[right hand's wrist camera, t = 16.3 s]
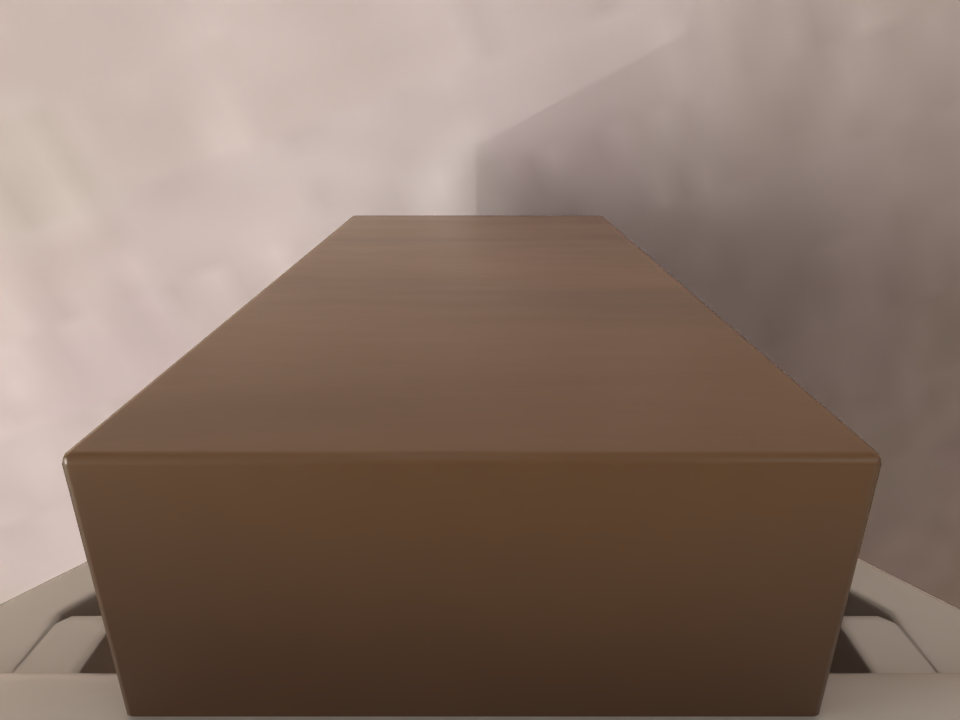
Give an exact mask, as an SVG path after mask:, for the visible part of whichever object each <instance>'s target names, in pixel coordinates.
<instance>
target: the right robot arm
mask: <svg viewBox="0 0 960 720" xmlns="http://www.w3.org/2000/svg"><path fill="white" fill-rule="evenodd" d="M0 720H960V609H958V608H956V607H954V606H952V605H950V604H948V603H946V602H944V601H942V600H940V599H938V598H936V597H935V596H933V595H931V594H929V593H927V592H925V591H923V590H921V589H919V588H917V587H915V586H913V585H911V584H909V583H907V582H905V581H903V580H901V579H899V578H897V577H895V576H893V575H891V574H889V573H887V572H885V571H883V570H881V569H879V568H877V567H875V566H873V565H871V564H869V563H867V562H865V561H863V560H861V559H859V558H858V560H857V564H856V568H855V572H854V576H853V580H852V584H851V588H850V592H849V596H848V600H847V604H846V608H845V612H844V616H843V620H842V624H841V628H840V632H839V636H838V640H837V644H836V648H835V652H834V656H833V660H832V664H831V668H830V672H829V676H828V680H827V684H826V688H825V692H824V696H823V700H822V704H821V708H820V712H819V715H817V716H814V717H132V716H130V715H127V712H126V708H125V704H124V700H123V696H122V693H121V689H120V685H119V681H118V677H117V673H116V669H115V666H114V662H113V658H112V654H111V650H110V646H109V643H108V639H107V635H106V631H105V627H104V623H103V619H102V616H101V612H100V608H99V604H98V600H97V596H96V592H95V589H94V585H93V581H92V577H91V573H90V569H89V565H88V562H85V563H83V564H81V565H79V566H77V567H75V568H73V569H71V570H69V571H67V572H65V573H63V574H61V575H59V576H57V577H55V578H53V579H51V580H49V581H47V582H45V583H43V584H41V585H39V586H37V587H35V588H33V589H31V590H29V591H27V592H25V593H23V594H21V595H19V596H17V597H15V598H13V599H11V600H9V601H7V602H5V603H3V604H1V605H0Z"/></svg>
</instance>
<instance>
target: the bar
mask: <svg viewBox="0 0 960 720" xmlns="http://www.w3.org/2000/svg"><path fill="white" fill-rule="evenodd" d="M62 465H63V469H64V473H65V477H66V481H67V485H68V488H69V492H70V496H71V500H72V504H73V508H74V512H75V515H76V519H77V523H78V527H79V531H80V535H81V539H82V542H83V546H84V550H85V554H86V558H87V562H88V565H89V569H90V573H91V577H92V581H93V585H94V589H95V592H96V596H97V600H98V604H99V608H100V612H101V616H102V619H103V623H104V627H105V631H106V635H107V639H108V643H109V646H110V650H111V654H112V658H113V662H114V666H115V669H116V673H117V677H118V681H119V685H120V689H121V693H122V696H123V700H124V704H125V708H126V712H127V715H130V716H132V717H814V716H817V715H819V712H820V708H821V704H822V700H823V696H824V692H825V688H826V684H827V680H828V676H829V672H830V668H831V664H832V660H833V656H834V652H835V648H836V644H837V640H838V636H839V632H840V628H841V624H842V620H843V616H844V612H845V608H846V604H847V600H848V596H849V592H850V588H851V584H852V580H853V576H854V572H855V568H856V564H857V560H858V555H859V551H860V547H861V543H862V539H863V535H864V531H865V527H866V523H867V519H868V515H869V511H870V507H871V503H872V499H873V495H874V491H875V487H876V483H877V479H878V475H879V471H880V467H881V459H880V456H879V454H878V453H877V452H876V451H875V450H874V449H873V448H871V447H870V446H869V445H868V444H867V443H866V442H864V441H863V440H862V439H861V438H860V437H859V436H857V435H856V434H855V433H854V432H853V431H852V430H850V429H849V428H848V427H847V426H846V425H845V424H843V423H842V422H841V421H840V420H839V419H838V418H836V417H835V416H834V415H833V414H832V413H831V412H829V411H828V410H827V409H826V408H825V407H824V406H822V405H821V404H820V403H819V402H818V401H817V400H816V399H814V398H813V397H812V396H811V395H810V394H809V393H807V392H806V391H805V390H804V389H803V388H802V387H800V386H799V385H798V384H797V383H796V382H795V381H793V380H792V379H791V378H790V377H789V376H788V375H786V374H785V373H784V372H783V371H782V370H781V369H779V368H778V367H777V366H776V365H775V364H774V363H772V362H771V361H770V360H769V359H768V358H767V357H765V356H764V355H763V354H762V353H761V352H760V351H758V350H757V349H756V348H755V347H754V346H753V345H751V344H750V343H749V342H748V341H747V340H746V339H744V338H743V337H742V336H741V335H740V334H739V333H737V332H736V331H735V330H734V329H733V328H732V327H730V326H729V325H728V324H727V323H726V322H725V321H723V320H722V319H721V318H720V317H719V316H718V315H717V314H715V313H714V312H713V311H712V310H711V309H710V308H708V307H707V306H706V305H705V304H704V303H703V302H701V301H700V300H699V299H698V298H697V297H696V296H694V295H693V294H692V293H691V292H690V291H689V290H687V289H686V288H685V287H684V286H683V285H682V284H680V283H679V282H678V281H677V280H676V279H675V278H673V277H672V276H671V275H670V274H669V273H668V272H666V271H665V270H664V269H663V268H662V267H661V266H659V265H658V264H657V263H656V262H655V261H654V260H652V259H651V258H650V257H649V256H648V255H647V254H645V253H644V252H643V251H642V250H641V249H640V248H638V247H637V246H636V245H635V244H634V243H633V242H631V241H630V240H629V239H628V238H627V237H626V236H624V235H623V234H622V233H621V232H620V231H619V230H618V229H616V228H615V227H614V226H613V225H612V224H611V223H609V222H608V221H607V220H606V219H605V218H604V217H602V216H353V217H352V218H350V219H349V220H348V221H347V222H345V223H344V224H343V225H342V226H341V227H339V228H338V229H337V230H336V231H335V232H333V233H332V234H331V235H330V236H328V237H327V238H326V239H325V240H324V241H322V242H321V243H320V244H319V245H318V246H316V247H315V248H314V249H313V250H311V251H310V252H309V253H308V254H307V255H305V256H304V257H303V258H302V259H301V260H299V261H298V262H297V263H296V264H295V265H293V266H292V267H291V268H290V269H288V270H287V271H286V272H285V273H284V274H282V275H281V276H280V277H279V278H278V279H276V280H275V281H274V282H273V283H271V284H270V285H269V286H268V287H267V288H265V289H264V290H263V291H262V292H261V293H259V294H258V295H257V296H256V297H254V298H253V299H252V300H251V301H250V302H248V303H247V304H246V305H245V306H244V307H242V308H241V309H240V310H239V311H237V312H236V313H235V314H234V315H233V316H231V317H230V318H229V319H228V320H227V321H225V322H224V323H223V324H222V325H221V326H219V327H218V328H217V329H216V330H214V331H213V332H212V333H211V334H210V335H208V336H207V337H206V338H205V339H204V340H202V341H201V342H200V343H199V344H197V345H196V346H195V347H194V348H193V349H191V350H190V351H189V352H188V353H187V354H185V355H184V356H183V357H182V358H180V359H179V360H178V361H177V362H176V363H174V364H173V365H172V366H171V367H170V368H168V369H167V370H166V371H165V372H164V373H162V374H161V375H160V376H159V377H157V378H156V379H155V380H154V381H153V382H151V383H150V384H149V385H148V386H147V387H145V388H144V389H143V390H142V391H140V392H139V393H138V394H137V395H136V396H134V397H133V398H132V399H131V400H130V401H128V402H127V403H126V404H125V405H123V406H122V407H121V408H120V409H119V410H117V411H116V412H115V413H114V414H113V415H111V416H110V417H109V418H108V419H106V420H105V421H104V422H103V423H102V424H100V425H99V426H98V427H97V428H96V429H94V430H93V431H92V432H91V433H90V434H88V435H87V436H86V437H85V438H83V439H82V440H81V441H80V442H79V443H77V444H76V445H75V446H74V447H73V448H71V449H70V450H69V451H68V452H66V453H65V455H64V457H63V463H62Z"/></svg>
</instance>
